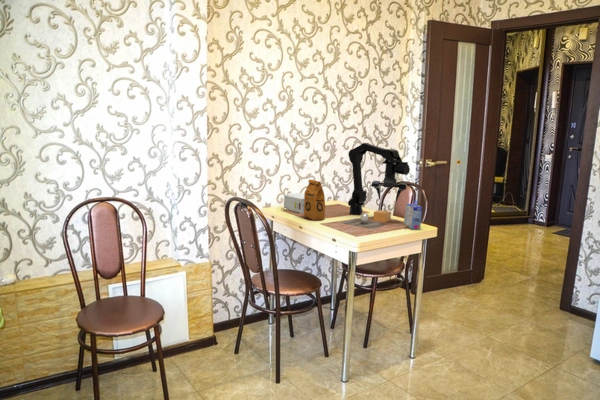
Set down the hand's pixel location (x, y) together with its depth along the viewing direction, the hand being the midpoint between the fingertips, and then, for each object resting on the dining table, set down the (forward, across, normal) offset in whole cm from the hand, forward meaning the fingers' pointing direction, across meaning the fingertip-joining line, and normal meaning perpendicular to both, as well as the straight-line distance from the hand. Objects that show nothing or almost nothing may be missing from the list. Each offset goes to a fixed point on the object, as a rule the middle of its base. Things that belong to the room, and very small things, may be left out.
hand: (387, 200), depth 248 cm
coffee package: (+14, -40, -8) cm, 43 cm away
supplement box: (+14, -55, +12) cm, 58 cm away
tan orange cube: (+13, -2, -1) cm, 13 cm away
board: (+13, -10, -14) cm, 21 cm away
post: (+11, -10, -14) cm, 21 cm away
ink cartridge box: (+12, +15, -7) cm, 20 cm away
